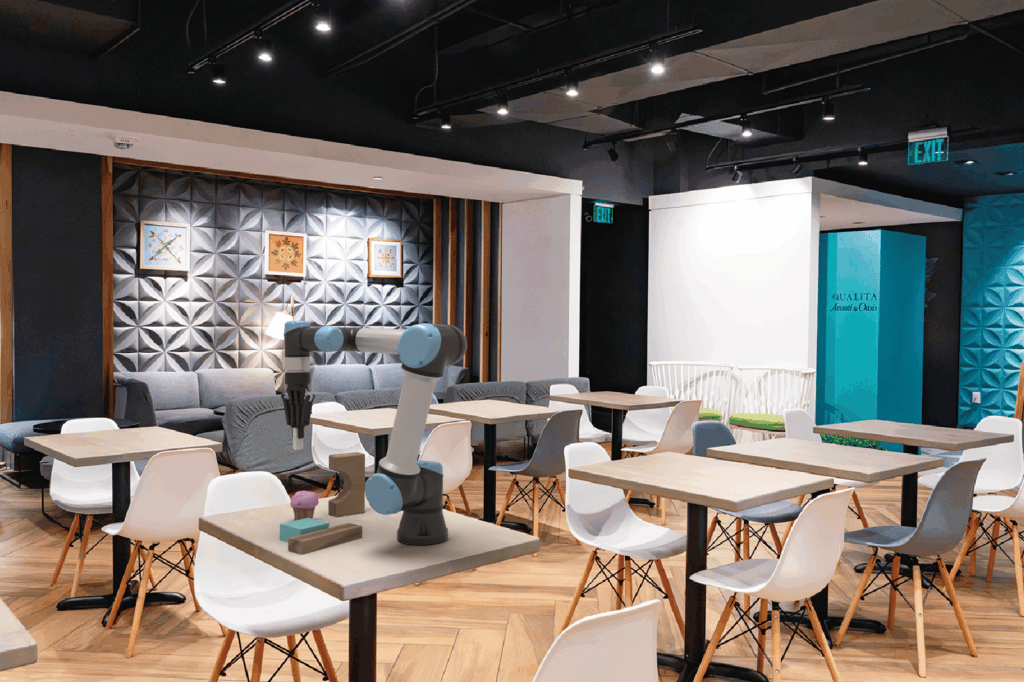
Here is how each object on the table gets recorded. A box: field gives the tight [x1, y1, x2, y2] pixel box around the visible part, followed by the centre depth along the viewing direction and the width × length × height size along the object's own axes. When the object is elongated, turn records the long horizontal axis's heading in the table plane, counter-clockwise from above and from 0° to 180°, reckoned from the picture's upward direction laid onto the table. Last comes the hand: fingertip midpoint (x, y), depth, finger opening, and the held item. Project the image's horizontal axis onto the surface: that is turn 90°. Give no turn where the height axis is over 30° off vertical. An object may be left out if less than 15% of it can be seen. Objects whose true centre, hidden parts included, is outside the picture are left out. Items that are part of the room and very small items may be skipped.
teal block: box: [279, 518, 330, 543], centre depth 222 cm, size 10×10×5 cm
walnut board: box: [287, 522, 363, 555], centre depth 217 cm, size 6×22×4 cm, turn 144°
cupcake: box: [289, 490, 320, 521], centre depth 243 cm, size 9×9×10 cm
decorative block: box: [327, 451, 366, 518], centre depth 255 cm, size 11×6×20 cm, turn 128°
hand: (298, 449), depth 230 cm, fingers closed
